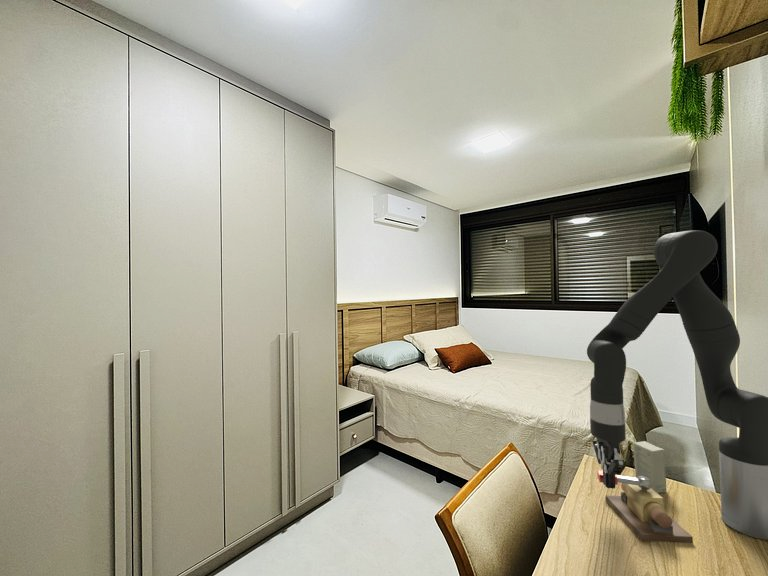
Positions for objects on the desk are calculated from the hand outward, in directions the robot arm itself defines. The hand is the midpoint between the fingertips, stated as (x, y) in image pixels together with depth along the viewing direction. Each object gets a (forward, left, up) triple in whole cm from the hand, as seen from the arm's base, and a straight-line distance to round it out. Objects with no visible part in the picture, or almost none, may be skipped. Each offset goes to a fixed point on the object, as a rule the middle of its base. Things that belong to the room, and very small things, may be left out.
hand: (609, 486), depth 85 cm
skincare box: (-20, -16, -9) cm, 27 cm away
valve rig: (-9, -1, -9) cm, 12 cm away
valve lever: (-5, -2, 0) cm, 5 cm away
